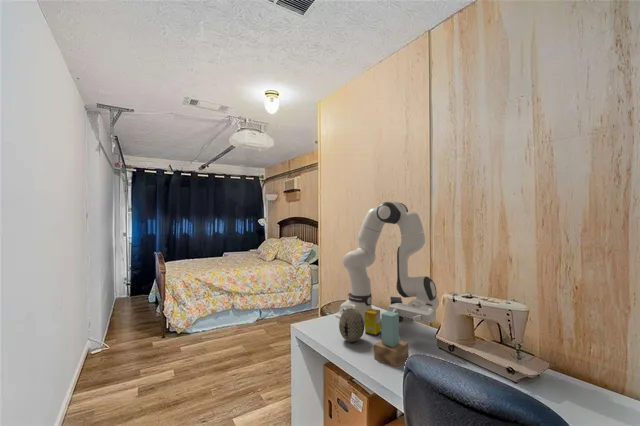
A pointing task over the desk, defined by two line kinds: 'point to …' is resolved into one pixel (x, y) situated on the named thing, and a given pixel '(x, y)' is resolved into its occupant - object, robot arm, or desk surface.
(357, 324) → the decorative egg
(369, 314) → the supplement box
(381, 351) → the walnut block
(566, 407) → the desk surface
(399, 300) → the small box
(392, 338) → the teal block
